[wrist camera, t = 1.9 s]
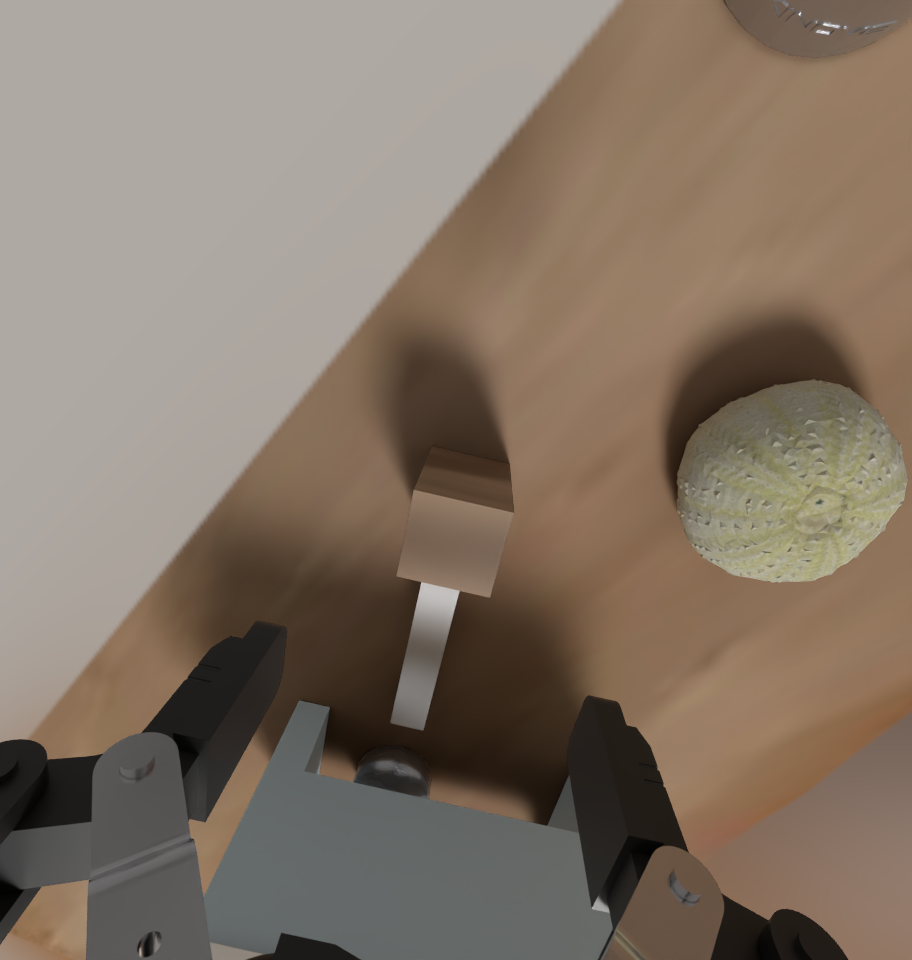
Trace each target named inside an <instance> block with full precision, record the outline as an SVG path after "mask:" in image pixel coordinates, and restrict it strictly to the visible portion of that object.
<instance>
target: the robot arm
mask: <svg viewBox="0 0 912 960" xmlns="http://www.w3.org/2000/svg"><path fill="white" fill-rule="evenodd" d="M725 2H726V4H727V6H728V8H729V10H730V11H731V12H732V14H733V15H734V16H735V18H736V19H737V20H738V22H739V23H740V24H741V25H742V27H743V28H744V29H745V30H746V31H747V32H748V33H749V34H751V35H752V36H753V37H755V38H756V39H757V40H759V41H760V42H761V43H763V44H764V45H765V46H767V47H770V48H772V49H775V50H777V51H780V52H783V53H785V54H788V55H791V56H801V57H811V58H820V57H827V56H833V55H840V54H846V53H848V52H851V51H853V50H856V49H859V48H861V47H864V46H866V45H869V44H872V43H874V42H876V41H877V40H879V39H881V38H882V37H884V36H885V35H887V34H889V33H890V32H892V31H893V30H895V29H897V28H898V27H900V26H902V25H903V24H905V23H906V22H908V21H909V20H911V19H912V0H725ZM286 638H287V628H286V627H285V626H281V625H276V624H272V623H267V622H263V621H256V622H255V623H254V625H253V626H252V627H251V629H250V630H249V631H248V633H247V634H246V635H245V637H244V638H243V639H241V638H237V637H232V636H230V637H228V638H226V639H225V640H223V641H222V642H220V643H218V644H217V645H215V646H213V647H212V648H211V649H210V650H209V651H208V653H207V654H206V655H205V656H204V657H203V659H202V660H201V661H200V662H199V664H198V666H197V667H195V668H194V670H193V671H192V672H191V673H190V675H189V676H188V678H187V680H185V681H184V682H183V683H182V684H181V686H180V687H179V688H178V689H177V690H176V692H175V693H174V694H173V695H172V697H171V698H170V699H169V700H168V701H167V703H166V704H165V705H164V706H163V708H162V709H161V710H160V711H159V712H158V714H157V715H156V716H155V717H154V719H153V720H152V721H151V722H150V723H149V725H148V726H147V727H146V728H145V729H144V730H143V732H142V733H140V734H135V735H132V736H129V737H127V738H125V739H122V740H120V741H119V742H117V743H115V744H114V745H113V746H111V747H110V748H109V749H108V750H107V751H105V752H104V753H103V754H100V755H95V756H88V757H75V758H63V759H50V760H47V753H46V750H45V749H44V747H43V746H42V745H41V744H39V743H37V742H35V741H31V740H22V739H20V740H10V741H4V742H1V743H0V944H1V943H2V941H3V940H4V939H5V937H6V936H7V934H8V933H9V932H10V930H11V929H12V927H13V926H14V925H15V923H16V922H17V920H18V919H19V918H20V916H21V915H22V913H23V912H24V911H25V909H26V908H27V906H28V905H29V904H30V902H31V901H32V899H33V898H34V897H35V895H36V894H37V892H38V891H39V890H40V888H41V887H42V886H49V885H56V884H62V883H69V882H76V881H82V880H89V879H90V880H89V883H88V901H87V942H86V960H212V953H211V946H210V940H209V933H208V926H207V919H206V912H205V905H204V898H203V892H202V885H201V878H200V871H199V864H198V857H197V851H196V846H195V842H194V839H191V836H190V830H189V823H188V821H189V819H193V820H197V821H202V822H206V820H207V818H208V816H209V815H210V813H211V811H212V809H213V807H214V806H215V804H216V802H217V800H218V798H219V797H220V795H221V793H222V791H223V789H224V788H225V786H226V784H227V782H228V780H229V779H230V777H231V775H232V773H233V771H234V770H235V768H236V766H237V764H238V762H239V760H240V759H241V757H242V755H243V753H244V751H245V750H246V748H247V746H248V744H249V742H250V741H251V739H252V737H253V735H254V733H255V732H256V730H257V728H258V726H259V724H260V723H261V721H262V719H263V717H264V715H265V713H266V712H267V710H268V708H269V706H270V704H271V703H272V701H273V699H274V697H275V695H276V693H277V690H278V688H279V685H280V681H281V678H282V672H283V664H284V655H285V647H286ZM567 764H568V770H569V776H570V782H571V788H572V794H573V800H574V806H575V812H576V818H577V824H578V830H579V836H580V842H581V848H582V854H583V860H584V866H585V872H586V878H587V884H588V890H589V896H590V902H591V908H592V909H594V910H599V911H603V912H608V913H610V917H611V922H612V927H613V929H612V931H611V932H610V934H609V936H608V938H607V940H606V942H605V944H604V947H603V949H602V951H601V953H600V955H599V957H598V959H597V960H848V958H847V957H846V955H845V954H844V952H843V951H842V949H841V948H840V947H839V945H838V944H837V943H836V942H835V940H833V938H832V937H831V936H830V935H829V934H828V933H827V932H826V931H825V930H824V929H823V928H822V927H820V926H819V925H818V924H817V923H815V922H814V921H813V920H811V919H810V918H808V917H806V916H805V915H803V914H801V913H799V912H796V911H794V910H789V909H781V910H778V911H776V912H775V913H774V914H773V915H772V917H771V918H770V920H767V919H765V918H763V917H761V916H760V915H757V914H756V913H754V912H752V911H751V910H749V909H747V908H745V907H743V906H742V905H740V904H738V903H736V902H734V901H733V900H731V899H729V898H728V897H726V896H725V895H723V894H722V893H721V891H720V889H719V887H718V884H717V882H716V881H715V879H714V878H713V876H712V875H711V873H710V872H709V871H708V869H707V868H706V867H705V866H704V865H703V864H702V863H701V862H700V861H699V860H698V859H697V858H695V857H694V856H693V855H691V854H690V853H689V852H688V849H687V846H686V844H685V841H684V838H683V835H682V833H681V830H680V827H679V824H678V822H677V819H676V816H675V813H674V811H673V808H672V805H671V802H670V799H669V797H668V794H667V791H666V788H665V787H663V780H662V777H661V775H660V772H659V771H658V770H657V767H658V766H657V764H656V761H655V758H654V755H653V753H652V750H651V747H650V745H649V744H648V743H647V741H646V740H645V739H644V737H643V736H642V735H641V733H640V732H639V731H638V729H637V728H636V727H631V726H627V725H626V722H625V719H624V716H623V713H622V710H621V707H620V705H619V703H618V702H616V701H612V700H608V699H603V698H599V697H594V696H587V697H586V699H585V700H584V703H583V705H582V708H581V710H580V713H579V715H578V718H577V720H576V723H575V725H574V728H573V731H572V733H571V736H570V738H569V743H568V749H567ZM246 960H361V959H359V958H357V957H356V956H354V955H352V954H351V953H349V952H347V951H346V950H344V949H342V948H341V947H339V946H338V945H336V944H331V943H327V942H322V941H318V940H313V939H308V938H304V937H299V936H295V935H290V934H286V933H281V935H280V938H279V941H278V944H277V947H276V950H275V953H270V954H263V955H259V956H256V957H252V958H249V959H246Z"/></svg>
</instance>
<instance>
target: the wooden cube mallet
mask: <svg viewBox="0 0 912 960" xmlns="http://www.w3.org/2000/svg"><path fill="white" fill-rule="evenodd" d="M513 515H514V505H513V494H512V483H511V472H510V464H508V463H503V462H499V461H495V460H490V459H486V458H482V457H477V456H473V455H469V454H464V453H460V452H456V451H451V450H447V449H443V448H438V447H434V446H432V448H431V450H430V453H429V455H428V457H427V460H426V462H425V465H424V467H423V469H422V472H421V474H420V476H419V479H418V481H417V483H416V486H415V488H414V491H413V496H412V501H411V506H410V511H409V516H408V521H407V526H406V531H405V536H404V541H403V546H402V551H401V556H400V561H399V566H398V571H397V577H401V578H406V579H410V580H414V581H419V582H421V587H420V591H419V596H418V600H417V605H416V609H415V614H414V618H413V623H412V627H411V632H410V636H409V641H408V645H407V650H406V654H405V658H404V663H403V667H402V672H401V676H400V681H399V685H398V690H397V694H396V699H395V703H394V708H393V712H392V717H391V721H390V723H392V724H396V725H400V726H405V727H409V728H414V729H418V730H422V731H423V730H424V726H425V722H426V719H427V715H428V711H429V707H430V703H431V699H432V695H433V691H434V688H435V684H436V680H437V676H438V672H439V668H440V664H441V661H442V657H443V653H444V649H445V645H446V641H447V637H448V633H449V630H450V626H451V622H452V618H453V614H454V610H455V606H456V603H457V599H458V595H459V591H462V592H467V593H471V594H475V595H480V596H484V597H489V598H490V595H491V592H492V588H493V585H494V581H495V578H496V574H497V571H498V568H499V564H500V561H501V557H502V554H503V550H504V547H505V543H506V540H507V536H508V533H509V529H510V526H511V522H512V519H513Z"/></svg>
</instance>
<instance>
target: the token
mask: <svg viewBox="0 0 912 960" xmlns="http://www.w3.org/2000/svg"><path fill="white" fill-rule="evenodd" d="M431 779H432V773H431V769H430V766H429V765H428V763H427V762H426V760H425V759H424V758H423V757H422V756H421V755H419V754H418V753H416V752H415V751H413V750H411V749H408V748H406V747H402V746H397V745H384V746H379V747H375V748H373V749H371V750H369V751H368V752H366V753H365V754H364V755H363V756H362V758H361V759H360V761H359V765H358V768H357V771H356V775H355V778H354V783H358V784H363V785H367V786H372V787H376V788H380V789H385V790H389V791H394V792H398V793H403V794H407V795H412V796H416V797H420V798H425V799H429V795H430V787H431Z"/></svg>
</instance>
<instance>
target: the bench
mask: <svg viewBox="0 0 912 960" xmlns="http://www.w3.org/2000/svg"><path fill="white" fill-rule="evenodd" d="M329 710H330V707H327V706H322V705H318V704H313V703H309V702H305V701H300V700H299V702H298V704H297V706H296V708H295V710H294V712H293V714H292V716H291V718H290V720H289V722H288V724H287V726H286V729H285V731H284V733H283V735H282V737H281V739H280V741H279V743H278V745H277V747H276V749H275V751H274V753H273V755H272V757H271V759H270V761H269V764H268V766H267V768H266V770H265V772H264V774H263V776H262V778H261V780H260V782H259V784H258V786H257V788H256V790H255V792H254V794H253V797H252V799H251V801H250V803H249V805H248V807H247V809H246V811H245V813H244V815H243V817H242V819H241V821H240V823H239V825H238V827H237V829H236V832H235V834H234V836H233V838H232V840H231V842H230V844H229V846H228V848H227V850H226V852H225V854H224V856H223V858H222V860H221V862H220V864H219V867H218V869H217V871H216V873H215V875H214V877H213V879H212V881H211V883H210V885H209V887H208V889H207V891H206V893H205V895H204V897H203V898H204V905H205V912H206V919H207V926H208V933H209V940H210V946H211V953H212V960H246V959H249V958H252V957H256V956H259V955H263V954H270V953H275V950H276V947H277V944H278V941H279V938H280V935H281V933H286V934H290V935H295V936H299V937H304V938H308V939H313V940H318V941H322V942H327V943H331V944H336V945H338V946H339V947H341V948H342V949H344V950H346V951H347V952H349V953H351V954H352V955H354V956H356V957H357V958H359V959H361V960H597V959H598V957H599V955H600V953H601V951H602V949H603V947H604V944H605V942H606V940H607V938H608V936H609V934H610V932H611V931H612V929H613V927H612V922H611V917H610V913H608V912H603V911H599V910H594V909H592V908H591V902H590V896H589V890H588V884H587V878H586V872H585V866H584V860H583V854H582V848H581V842H580V836H579V830H578V824H577V818H576V812H575V806H574V800H573V794H572V788H571V782H570V776H568V778H567V781H566V783H565V785H564V788H563V790H562V792H561V795H560V797H559V799H558V802H557V804H556V807H555V809H554V811H553V814H552V816H551V818H550V821H549V823H548V825H547V826H545V825H540V824H536V823H532V822H527V821H523V820H518V819H514V818H509V817H505V816H500V815H496V814H492V813H487V812H483V811H478V810H474V809H469V808H465V807H460V806H456V805H452V804H447V803H443V802H438V801H434V800H429V799H425V798H420V797H416V796H412V795H407V794H403V793H398V792H394V791H389V790H385V789H380V788H376V787H372V786H367V785H363V784H358V783H354V782H349V781H345V780H340V779H336V778H332V777H327V776H323V775H319V772H320V766H321V759H322V753H323V747H324V741H325V734H326V728H327V722H328V716H329Z"/></svg>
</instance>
